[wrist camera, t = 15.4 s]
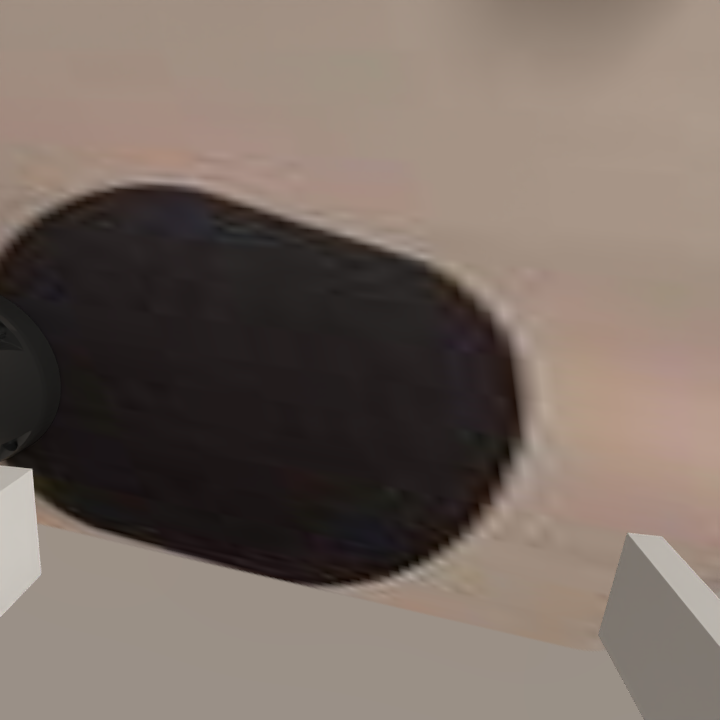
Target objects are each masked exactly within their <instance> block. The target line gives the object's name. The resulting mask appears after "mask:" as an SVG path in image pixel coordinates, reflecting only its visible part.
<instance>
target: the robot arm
mask: <svg viewBox="0 0 720 720" xmlns="http://www.w3.org/2000/svg"><path fill="white" fill-rule="evenodd" d="M60 395H61V381H60V374H59V369H58V365H57V361H56V358H55V356H54V353H53V351H52V349H51V347H50V345H49V343H48V341H47V339H46V338H45V336H44V335H43V333H42V332H41V330H40V329H39V328H38V326H37V325H36V324H35V323H34V322H33V320H32V319H31V318H30V317H29V316H28V315H27V314H26V313H25V312H23V311H22V310H21V309H20V308H19V307H17V306H16V305H15V304H13V303H12V302H11V301H9V300H8V299H6V298H4V297H3V296H1V295H0V461H3V460H6V459H8V458H10V457H12V456H14V455H15V454H17V453H19V452H20V451H22V450H23V449H25V448H27V447H28V446H30V445H31V444H33V443H34V442H36V441H37V440H38V439H39V438H40V437H41V436H42V435H43V434H44V433H45V432H46V431H47V430H48V428H49V427H50V425H51V424H52V422H53V420H54V418H55V416H56V413H57V410H58V407H59V402H60ZM40 575H41V564H40V552H39V541H38V529H37V518H36V507H35V496H34V484H33V473H32V469H28V468H19V467H9V466H0V617H1V616H2V615H3V614H4V612H5V611H7V610H8V609H9V607H10V606H11V605H12V604H13V603H14V602H15V601H16V600H17V599H18V598H19V597H20V596H21V595H22V594H23V593H24V592H25V591H26V590H27V589H28V588H29V586H31V585H32V584H33V583H34V582H35V581H36V579H37V578H38V577H39V576H40ZM598 635H599V637H600V639H601V641H602V643H603V645H604V646H605V648H606V650H607V652H608V654H609V656H610V658H611V659H612V661H613V663H614V665H615V667H616V668H617V671H618V672H619V674H620V676H621V678H622V680H623V681H624V684H625V685H626V687H627V689H628V691H629V693H630V695H631V697H632V698H633V700H634V702H635V704H636V706H637V707H638V710H639V711H640V713H641V715H642V717H643V719H644V720H720V599H719V598H718V597H717V596H716V595H715V594H714V592H713V591H712V590H711V589H710V588H709V587H708V586H707V585H706V584H705V583H704V582H703V580H702V579H701V578H700V577H699V576H698V575H697V574H696V573H695V572H694V571H693V570H692V568H691V567H690V566H689V565H688V564H687V563H686V562H685V561H684V560H683V559H682V558H681V556H680V555H679V554H678V553H677V552H676V551H675V550H674V549H673V548H672V547H671V546H670V544H669V543H668V542H667V541H666V540H665V539H664V538H663V537H662V536H652V535H643V534H634V533H627V535H626V539H625V542H624V546H623V549H622V553H621V556H620V560H619V564H618V567H617V571H616V574H615V578H614V581H613V585H612V588H611V592H610V595H609V599H608V602H607V606H606V610H605V613H604V617H603V620H602V624H601V627H600V631H599V634H598Z"/></svg>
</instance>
